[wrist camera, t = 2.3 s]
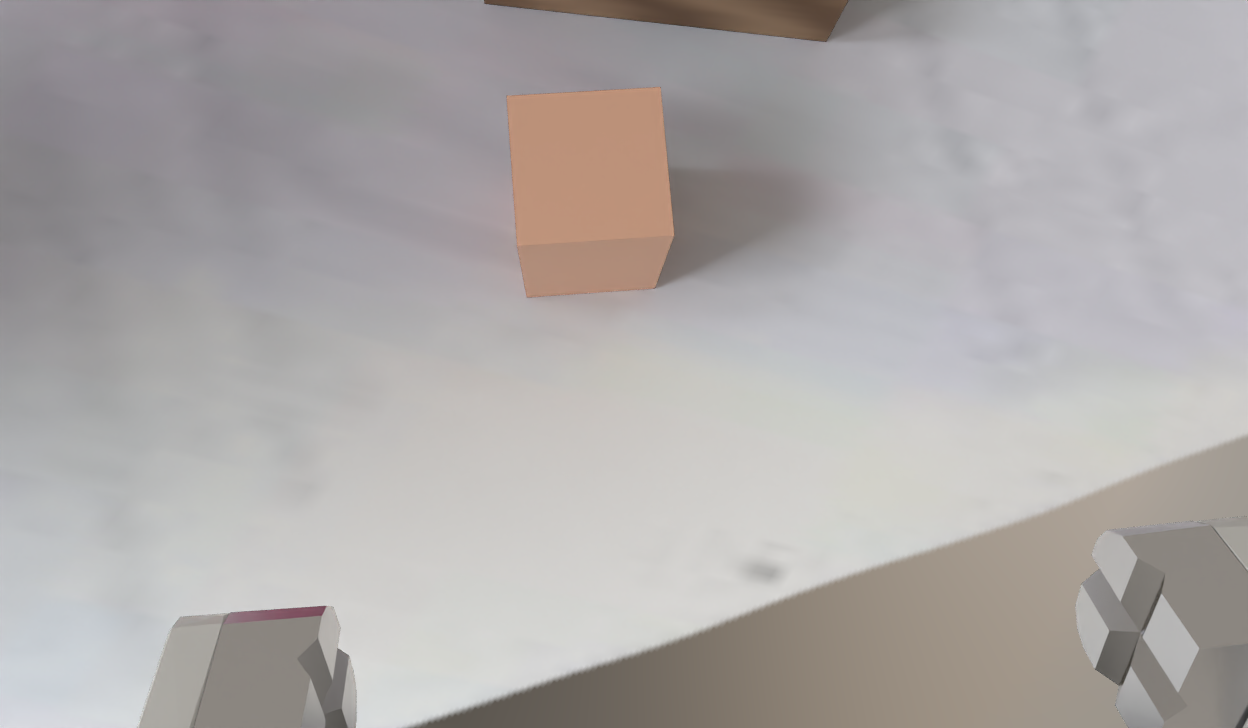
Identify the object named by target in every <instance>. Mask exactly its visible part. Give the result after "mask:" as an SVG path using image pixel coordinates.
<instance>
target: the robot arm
mask: <svg viewBox="0 0 1248 728" xmlns="http://www.w3.org/2000/svg"><path fill="white" fill-rule="evenodd" d="M1092 557H1093V558H1094V560H1095V562H1096V563H1097V565H1098V567H1099V568H1100V569H1098V570H1097V571H1096V572H1095V573H1094V574H1092V575H1091V576H1090V577H1089V578H1088V579H1087V580H1086V581H1084V582H1083V583H1082V584H1081V587H1080V591H1079V595H1078V598H1077V602H1076V617H1077V630H1078V633H1079V636H1080V638H1081V642H1082V645H1083V648H1084V650H1085V652H1086V654H1087V656H1088V657H1089V659H1090V661H1091V663H1092V665H1093V667H1094V668H1095V670H1097V671H1098V672H1100V673H1101V674H1103V675H1104V676H1106V677H1107V678H1109V679H1110V680H1112V681H1113V682H1115V683H1116V684H1117V685H1119V688H1118V693H1117V699H1116V703H1115V706H1116V708H1117V709H1118V711H1119V713H1120V715H1121V716H1122V718H1123V720H1124V721H1125V723H1126V725H1127V727H1128V728H1248V517H1247V516H1243V517H1232V518H1222V519H1212V520H1201V521H1197V522H1194V521H1186V522H1177V523H1167V524H1159V525H1150V526H1140V527H1131V528H1121V529H1112V530H1106V531H1105V532H1104V533H1103V534H1102V535H1101V536H1100V537H1099V538H1098V539H1097V541H1096V544H1095V547H1094V550H1093V552H1092ZM339 635H340V625H339V622H338V619H337V616H336V613H335V611H334V608H333V607H331V606H317V607H302V608H288V609H274V610H260V611H245V612H231V613H225V614H212V615H199V616H186V617H180V618H179V619H178V620H177V622H176V623H175V624H174V626H173V627H172V628H171V630H170V631H169V633H168V636H167V639H166V642H165V645H164V648H163V651H162V654H161V657H160V660H159V663H158V666H157V669H156V672H155V675H154V678H153V681H152V684H151V687H150V690H149V693H148V696H147V699H146V702H145V705H144V708H143V711H142V714H141V717H140V720H139V723H138V726H137V728H356V685H355V678H354V671H353V668H352V664H351V661H350V657H349V655H347V654H346V653H344V652H343V651H341V650H340V649H338V641H339Z"/></svg>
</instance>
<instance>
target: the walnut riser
mask: <svg viewBox="0 0 1248 728" xmlns="http://www.w3.org/2000/svg"><path fill="white" fill-rule="evenodd" d="M847 2H848V0H484V3H485V4H493V5H502V6H511V7H520V8H529V9H538V10H547V11H556V12H565V13H574V14H583V15H592V16H601V17H610V18H619V19H628V20H637V21H646V22H655V23H663V24H672V25H681V26H690V27H699V28H708V29H717V30H726V31H735V32H744V33H753V34H762V35H771V36H780V37H789V38H798V39H807V40H816V41H825V42H826V41H827V39H828V37H829V36H830V34H831V32H832V30H833V28H834V26H835V24H836V22H837V21H838V19H839V17H840V15H841V13H842V11H843V9H844V7H845V6H846V4H847Z"/></svg>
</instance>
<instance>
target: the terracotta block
mask: <svg viewBox="0 0 1248 728" xmlns="http://www.w3.org/2000/svg"><path fill="white" fill-rule="evenodd" d="M507 109H508V124H509V138H510V152H511V166H512V181H513V195H514V209H515V224H516V238H517V248H518V254H519V259H520V264H521V269H522V275H523V280H524V285H525V290H526V296H527V297H541V296H555V295H569V294H583V293H597V292H612V291H626V290H640V289H654V288H655V287H656V284H657V281H658V279H659V276H660V273H661V270H662V268H663V265H664V262H665V260H666V257H667V254H668V251H669V249H670V246H671V243H672V241H673V238H674V226H673V215H672V205H671V194H670V183H669V173H668V162H667V151H666V141H665V130H664V119H663V109H662V98H661V87H653V88H635V89H617V90H600V91H582V92H565V93H547V94H530V95H512V96H507Z"/></svg>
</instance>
